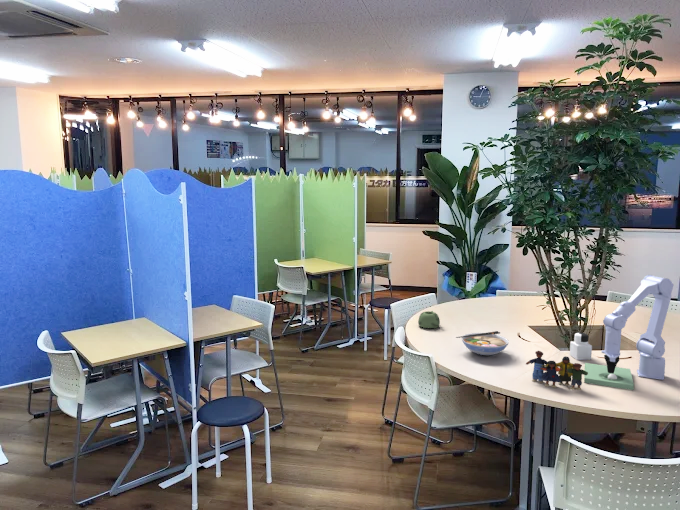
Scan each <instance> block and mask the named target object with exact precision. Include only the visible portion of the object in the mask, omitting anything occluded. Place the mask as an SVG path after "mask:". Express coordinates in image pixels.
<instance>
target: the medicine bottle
mask: <svg viewBox="0 0 680 510" xmlns="http://www.w3.org/2000/svg"><path fill="white" fill-rule="evenodd" d="M573 339H574V340H573V341H572V340H571V341H569V342H570V343H569V344H570V345H569V356H570V357H572V358H574V359H575V360H576V361H584V360H585V361H590V360H592V352H593V345H592V344H590V343H589V335H588V334H587V333H585V332H576V333H574V338H573Z"/></svg>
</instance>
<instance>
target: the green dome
mask: <svg viewBox="0 0 680 510" xmlns="http://www.w3.org/2000/svg"><path fill="white" fill-rule="evenodd" d="M440 320H441V319H440V316H439V314H438V313H436V312H435V311H433V310H431V311H429V310H428V311H423V312H421V313H420V315H419V316H418V320H417V321H418V322H417V323H418V326H419V327H420V328H422V327H423V329H426V328H434V329H437V328H438V327H440V324H441V321H440Z"/></svg>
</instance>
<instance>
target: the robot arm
mask: <svg viewBox="0 0 680 510" xmlns="http://www.w3.org/2000/svg"><path fill="white" fill-rule="evenodd" d="M673 289H674V283H673V282H672V280H671V279H670V278H668V277H667V278H666V277H660V276H656V275H653V274H647V275H645V276H644V277H643V279H641V280H640V286H639V287H637V289H636V290H635V292H634V293H633V294H632V295H631V297H630V298H629V299H627V300H626V301H625V300H624V301H622V302H620V303H619V305H618V306H617V307H616V308H615V309H614V310H613V312H612V313H608V314H607V315H606V316H604V319H602V323H603V325H604V329H605V337H604V338H605V339H604V340H605V341H604V350H603V349H602V350H601V354H604V355H603V356H604V357H603V358H604V360H605V362H606V366H607V370H608V373H614V371H615V367H617V364H618V363H619V362H620V356H621V342H622V341H621V340H622V330H623V328H625V327H626V325H627V324H626V323H627V321H628V319H629V318H630V317H631V316H632V315H633V313H635V312H636V306H637V305H638V304H640V303H641V302H642V301H643V300H644V299H646V297H648V296H649V295H653V297H654V302H653V305H652V309H651V313H650V317H649V320H648V324H647V328H646V331H645V332H644V333H642V334H640V336H639V338H638V340H637V341H636V350H637V351H638V354H639V361H638V362H639V365H638V369H636V372H637V376H638V377H641V378H647V379H655V380H660V381H661V380H662V381H663V380H665V373H666V369H665V368H666V359H665V358H666V357H663V356H664V354H665V352H666V349H665V347H666V346H665V345H666V341H665V339H663V337H662V332H663V330H664V325H665V322H666V319H667V315H668V311H669V307H670V302H671V300H672V299H671V298H672V291H673Z"/></svg>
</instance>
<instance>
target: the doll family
mask: <svg viewBox="0 0 680 510" xmlns="http://www.w3.org/2000/svg"><path fill="white" fill-rule="evenodd" d="M535 355H536V357H535V358H532V359H530V360H529V361H527V362H526V363H525V365H527V366H528V365H529V364H531V365H532V364H534V366H533V371H532V380H531V381H532V382H533V383H537V382H538V383H540V384H544V387H547V388H548V387H551V388H554V389H555V388H556V389H557V385H556V383H558V385H560V386H566V387H569V389H570V390H571V391H574V390H577V391H581V390H582V388H581V386H582V385H583V381H582V380H583V378H582V377H583V376H584V375H586V376H587V375H588V372H586V371H585V369H581V368H582V366H583V365H582V363H576V362H575V363H573V362H571V359H570V357H569V356H563V358H561V359H562V360H561V361H559V362H557V363H556V361H555V360H549V361H547V360H546V359H543V358H542V357H543V355H544V352H543V351H541V350H537V351H535ZM557 372H558V373H557ZM544 382H545V383H544ZM550 382H552V383H551V386H550V384H549V383H550ZM569 382H570V383H569ZM576 386H577V387H576Z"/></svg>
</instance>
